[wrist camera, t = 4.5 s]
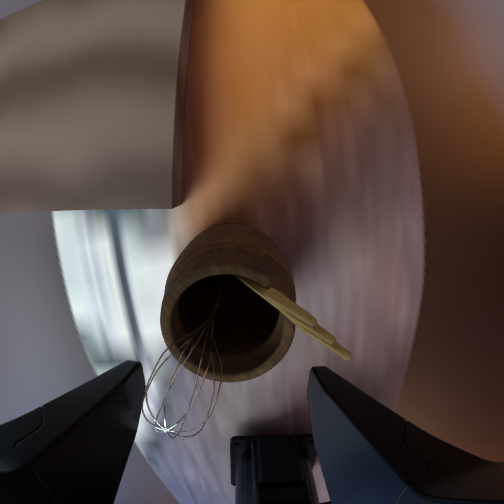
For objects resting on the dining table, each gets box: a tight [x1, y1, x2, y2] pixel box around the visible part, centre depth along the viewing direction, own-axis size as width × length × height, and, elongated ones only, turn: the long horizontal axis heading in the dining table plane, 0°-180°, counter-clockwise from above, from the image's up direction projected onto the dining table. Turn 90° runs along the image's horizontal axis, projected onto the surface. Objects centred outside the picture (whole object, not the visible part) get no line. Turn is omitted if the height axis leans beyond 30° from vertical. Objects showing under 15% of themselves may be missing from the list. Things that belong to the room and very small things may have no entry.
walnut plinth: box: [0, 0, 194, 214], centre depth 14 cm, size 14×14×2 cm
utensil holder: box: [142, 224, 353, 438], centre depth 12 cm, size 6×6×12 cm
